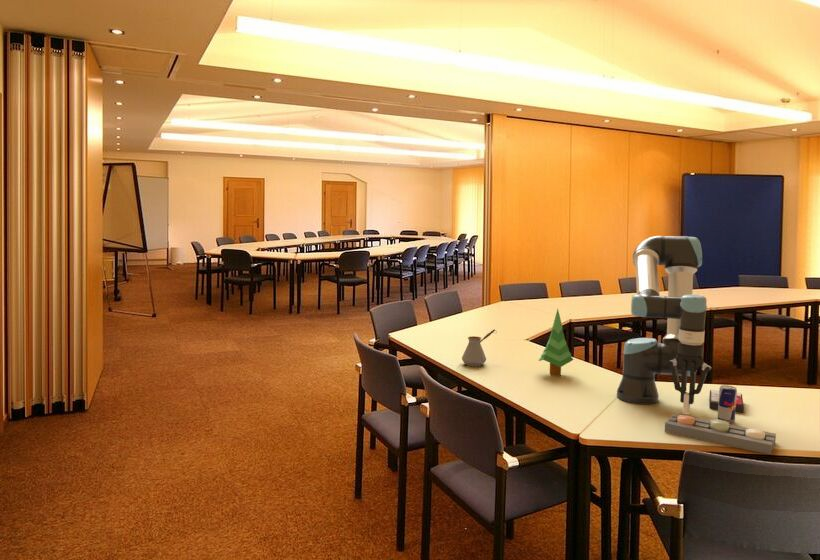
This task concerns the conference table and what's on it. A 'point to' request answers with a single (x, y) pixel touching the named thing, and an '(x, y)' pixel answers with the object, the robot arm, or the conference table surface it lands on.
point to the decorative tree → (556, 348)
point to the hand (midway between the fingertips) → (686, 412)
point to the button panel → (721, 435)
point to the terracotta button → (686, 420)
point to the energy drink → (727, 403)
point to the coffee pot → (475, 351)
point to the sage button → (719, 425)
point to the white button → (755, 434)
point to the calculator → (715, 399)
